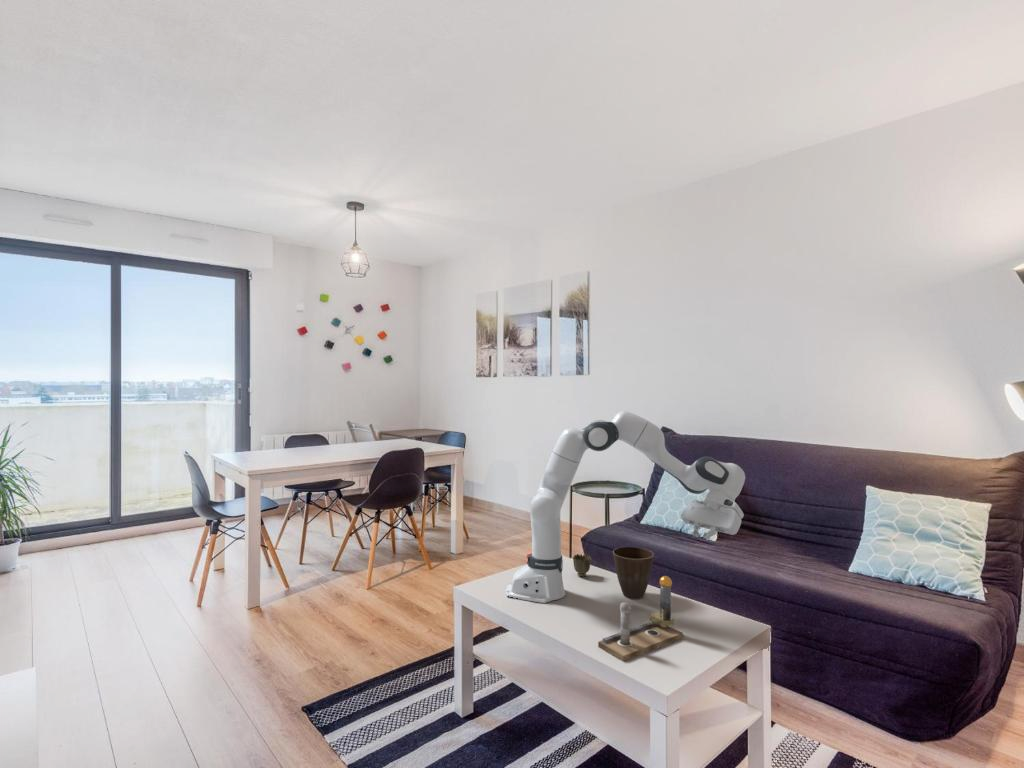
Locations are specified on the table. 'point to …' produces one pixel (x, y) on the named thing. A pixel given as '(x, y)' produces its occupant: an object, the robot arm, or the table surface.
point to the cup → (581, 564)
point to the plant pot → (633, 570)
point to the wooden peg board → (637, 637)
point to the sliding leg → (664, 604)
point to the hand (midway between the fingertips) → (699, 537)
